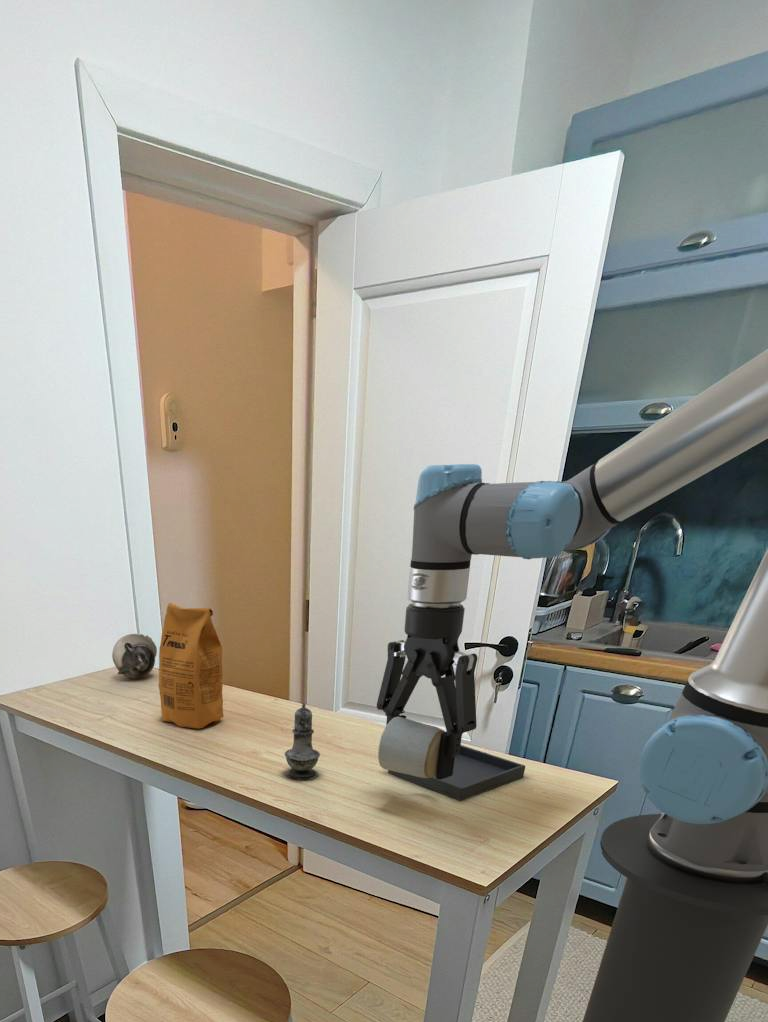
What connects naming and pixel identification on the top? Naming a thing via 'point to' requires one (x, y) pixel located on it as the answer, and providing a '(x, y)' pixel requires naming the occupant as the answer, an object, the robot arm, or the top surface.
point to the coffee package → (190, 668)
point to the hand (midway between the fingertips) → (418, 768)
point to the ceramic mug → (410, 747)
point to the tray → (471, 774)
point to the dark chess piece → (302, 747)
